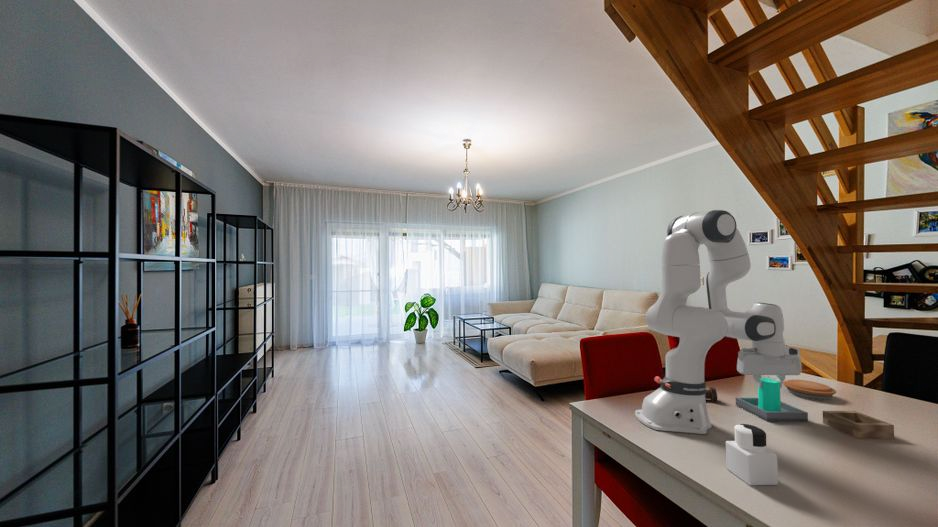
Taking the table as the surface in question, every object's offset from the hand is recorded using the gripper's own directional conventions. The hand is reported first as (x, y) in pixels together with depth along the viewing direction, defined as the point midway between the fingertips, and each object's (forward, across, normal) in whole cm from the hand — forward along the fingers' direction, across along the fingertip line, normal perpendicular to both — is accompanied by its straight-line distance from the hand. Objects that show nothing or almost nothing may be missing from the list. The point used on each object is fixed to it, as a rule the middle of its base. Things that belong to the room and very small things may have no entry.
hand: (769, 387), depth 121 cm
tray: (+9, 0, 0) cm, 9 cm away
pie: (+10, +31, +18) cm, 37 cm away
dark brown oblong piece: (+10, -18, +14) cm, 25 cm away
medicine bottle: (+9, -37, -38) cm, 54 cm away
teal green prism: (+8, 0, 0) cm, 8 cm away
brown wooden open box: (+9, +16, -13) cm, 23 cm away
